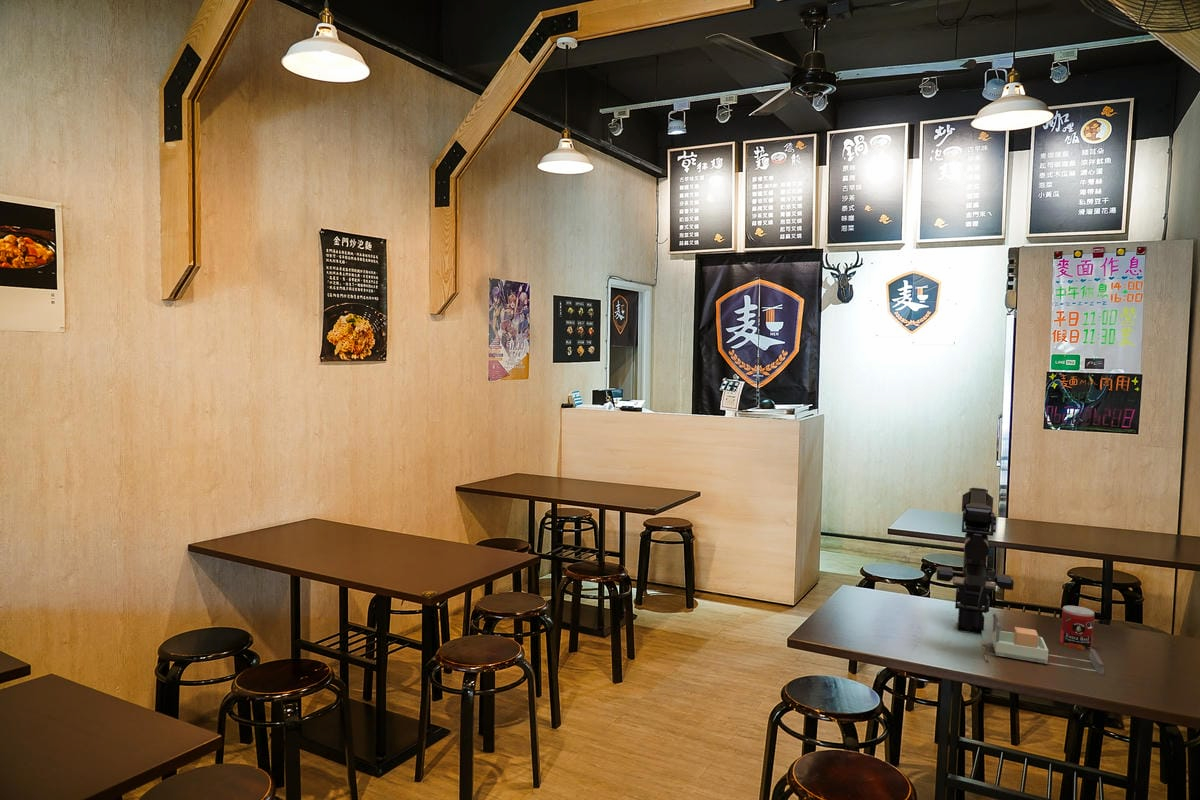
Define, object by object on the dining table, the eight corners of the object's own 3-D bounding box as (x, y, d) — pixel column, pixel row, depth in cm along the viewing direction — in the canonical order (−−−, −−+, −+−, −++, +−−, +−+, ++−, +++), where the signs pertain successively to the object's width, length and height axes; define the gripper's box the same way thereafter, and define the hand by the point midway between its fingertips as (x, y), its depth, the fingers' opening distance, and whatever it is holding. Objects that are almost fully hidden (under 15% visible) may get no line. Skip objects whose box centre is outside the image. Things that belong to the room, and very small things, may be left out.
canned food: (1060, 649, 216) (1063, 610, 216) (1059, 641, 223) (1061, 603, 223) (1093, 655, 213) (1096, 616, 212) (1090, 646, 220) (1093, 608, 219)
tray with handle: (994, 656, 206) (996, 624, 205) (990, 643, 216) (992, 612, 215) (1047, 665, 201) (1049, 632, 201) (1041, 651, 211) (1043, 619, 211)
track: (985, 662, 204) (986, 648, 204) (981, 642, 219) (982, 629, 219) (1105, 682, 194) (1106, 667, 194) (1092, 660, 209) (1093, 646, 209)
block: (1015, 651, 207) (1016, 632, 206) (1013, 644, 211) (1014, 626, 211) (1036, 654, 205) (1038, 635, 204) (1034, 648, 209) (1035, 629, 209)
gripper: (939, 554, 208) (935, 611, 208) (1017, 563, 201) (1013, 623, 201) (938, 545, 218) (934, 600, 219) (1012, 554, 211) (1009, 611, 212)
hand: (971, 608), depth 212 cm, fingers open, 3 cm apart
